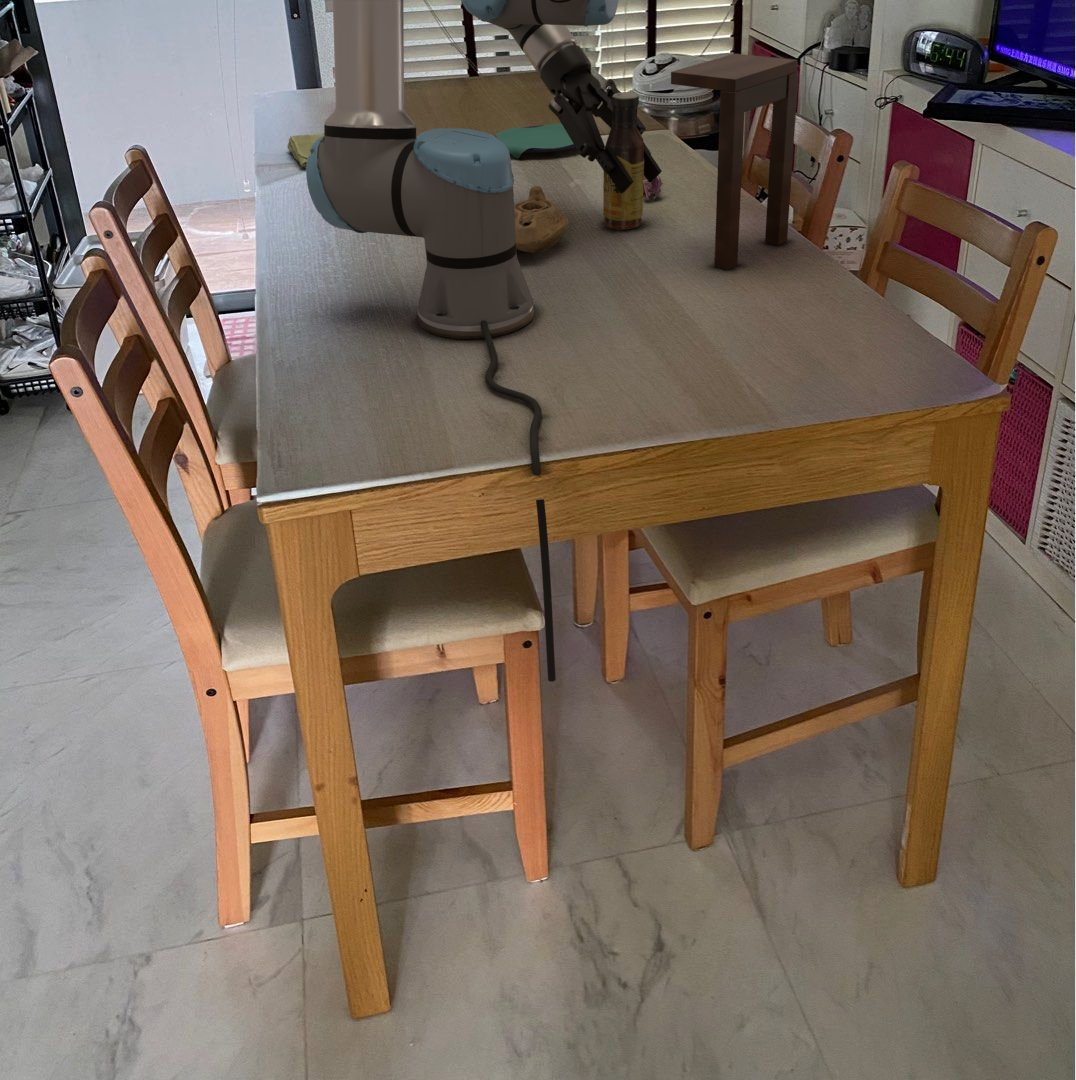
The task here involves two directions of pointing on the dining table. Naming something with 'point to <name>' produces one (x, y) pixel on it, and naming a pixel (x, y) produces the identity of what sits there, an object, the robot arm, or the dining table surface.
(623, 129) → the sauce bottle
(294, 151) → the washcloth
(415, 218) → the robot arm
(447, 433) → the dining table surface
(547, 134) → the green pad
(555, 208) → the oil lamp
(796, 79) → the wooden step stool
